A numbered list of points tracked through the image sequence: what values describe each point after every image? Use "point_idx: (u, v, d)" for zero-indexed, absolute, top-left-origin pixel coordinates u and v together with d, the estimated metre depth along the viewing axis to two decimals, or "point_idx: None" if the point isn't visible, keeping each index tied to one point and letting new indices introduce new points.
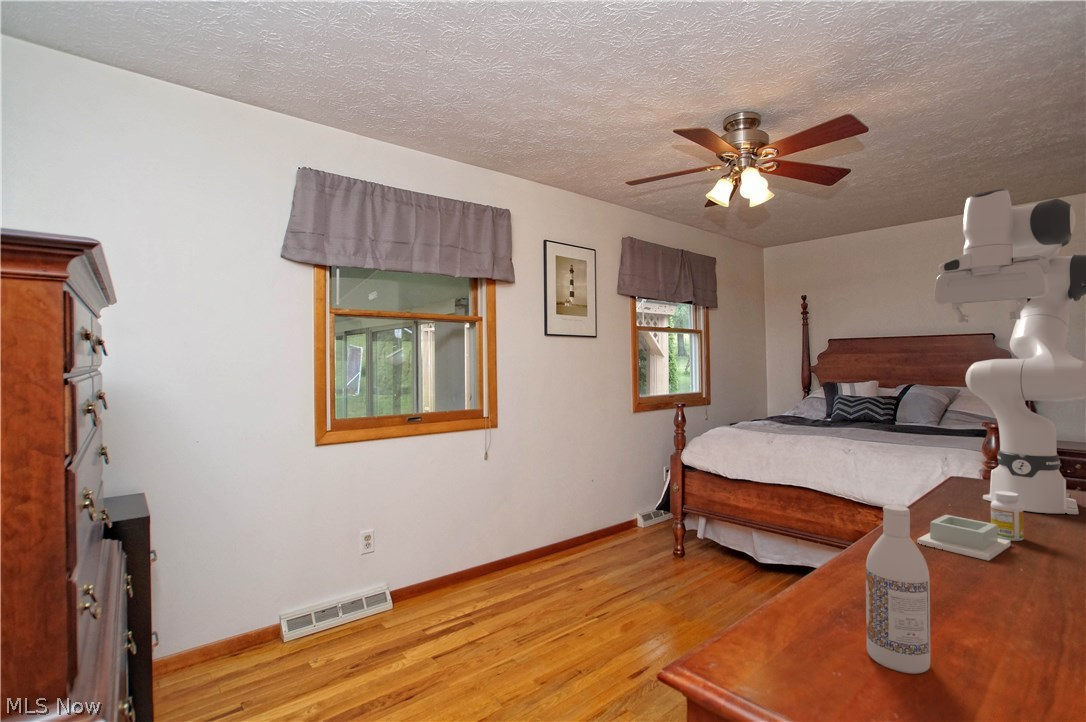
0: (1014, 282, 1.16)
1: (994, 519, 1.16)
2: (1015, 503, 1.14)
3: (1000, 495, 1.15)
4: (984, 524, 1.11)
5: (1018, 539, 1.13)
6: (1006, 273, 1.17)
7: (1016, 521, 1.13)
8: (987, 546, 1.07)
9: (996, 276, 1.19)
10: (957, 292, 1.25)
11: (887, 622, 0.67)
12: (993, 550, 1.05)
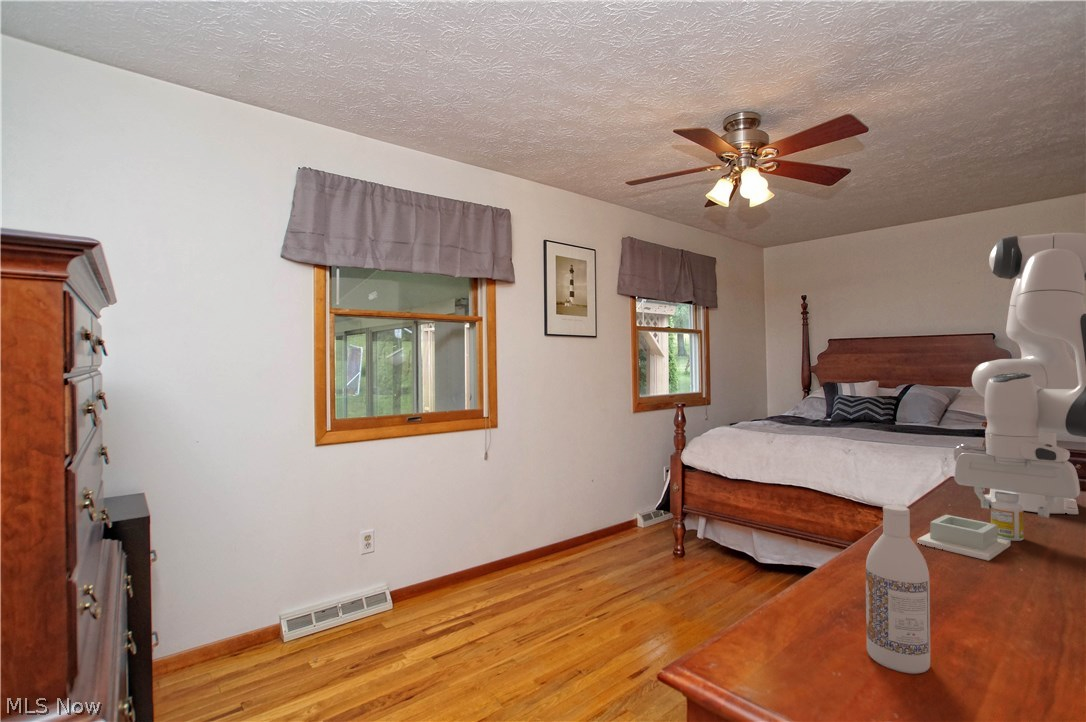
0: None
1: (994, 519, 1.16)
2: (1015, 503, 1.14)
3: (1000, 495, 1.15)
4: (984, 524, 1.11)
5: (1018, 539, 1.13)
6: None
7: (1016, 521, 1.13)
8: (987, 546, 1.07)
9: None
10: None
11: (887, 622, 0.67)
12: (993, 550, 1.05)
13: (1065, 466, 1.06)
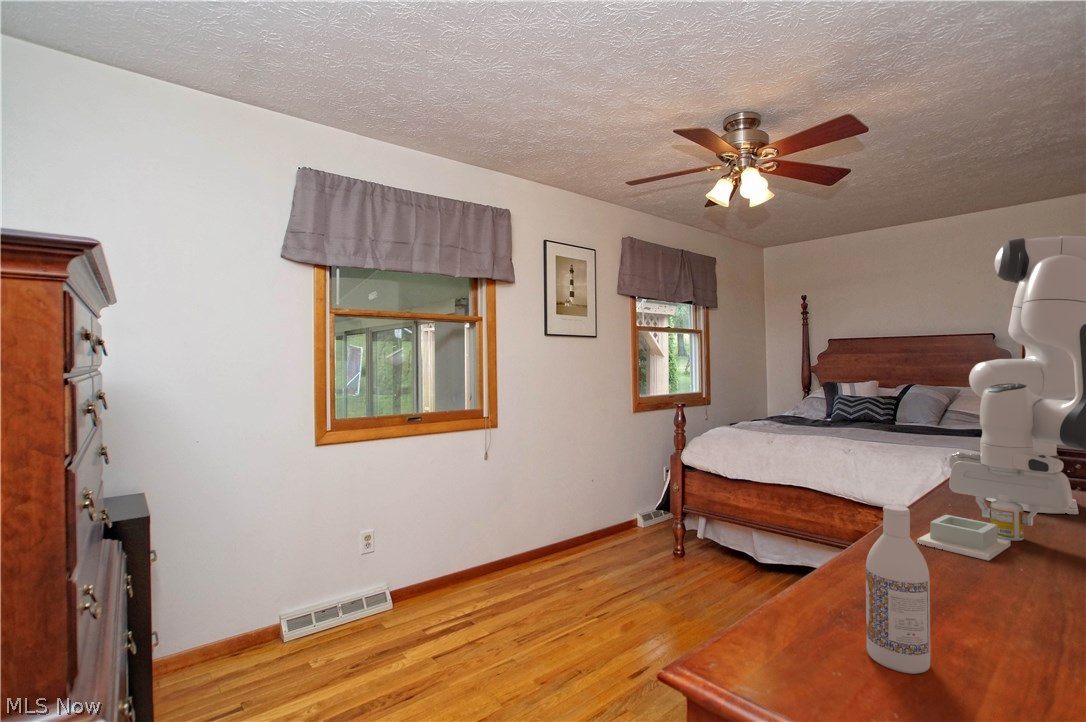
0: None
1: (994, 519, 1.16)
2: (1015, 503, 1.14)
3: (1000, 495, 1.15)
4: (984, 524, 1.11)
5: (1018, 539, 1.13)
6: None
7: (1016, 521, 1.13)
8: (987, 546, 1.07)
9: None
10: None
11: (887, 622, 0.67)
12: (993, 550, 1.05)
13: (1057, 477, 1.07)
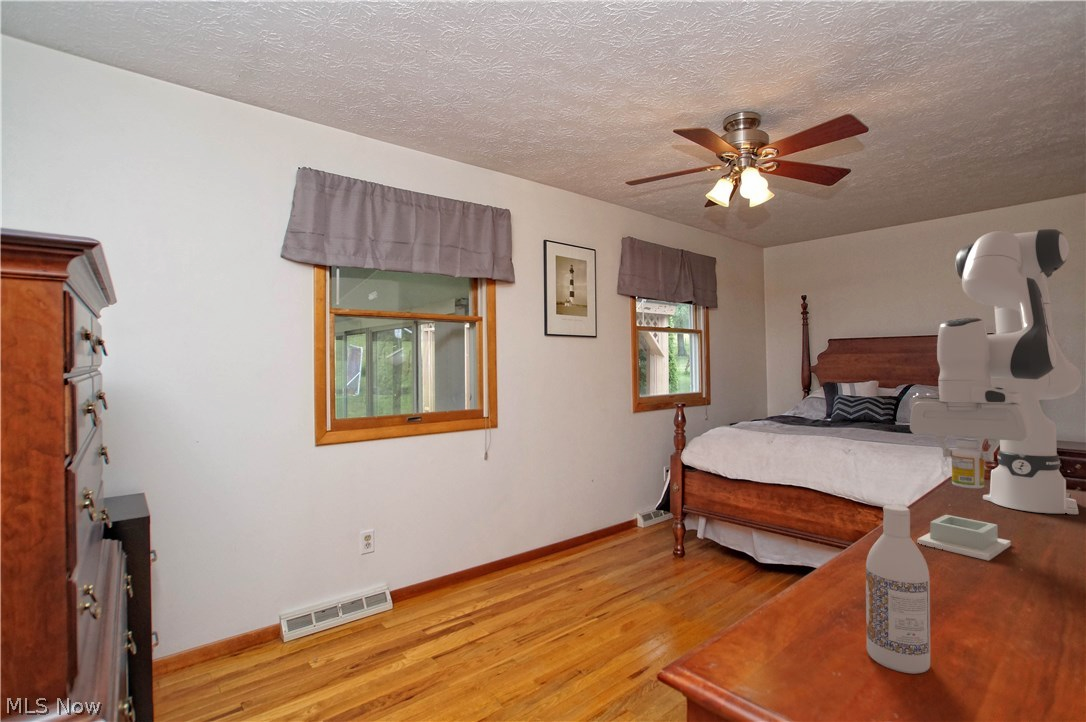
0: None
1: (954, 467, 1.12)
2: (976, 449, 1.10)
3: (961, 442, 1.11)
4: (984, 524, 1.11)
5: (978, 486, 1.09)
6: None
7: (977, 467, 1.09)
8: (987, 546, 1.07)
9: None
10: None
11: (887, 622, 0.67)
12: (993, 550, 1.05)
13: (1014, 407, 1.04)
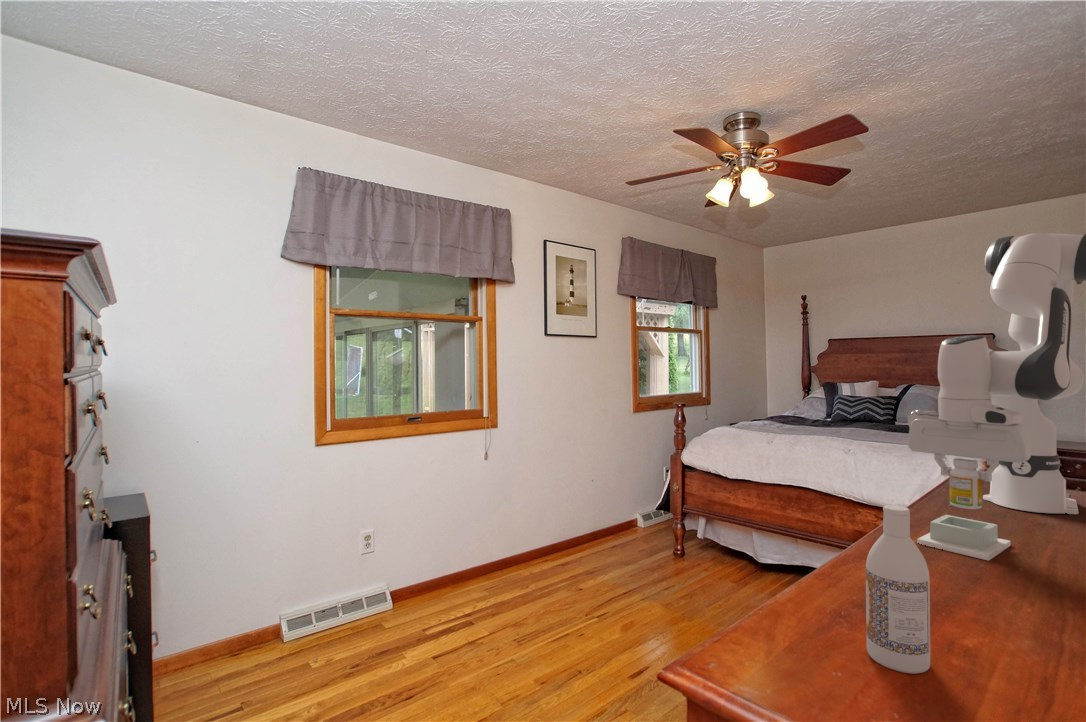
0: None
1: (952, 487, 1.11)
2: (974, 470, 1.09)
3: (959, 462, 1.10)
4: (984, 524, 1.11)
5: (976, 507, 1.08)
6: None
7: (975, 488, 1.08)
8: (987, 546, 1.07)
9: None
10: None
11: (887, 622, 0.67)
12: (993, 550, 1.05)
13: (1015, 429, 1.03)
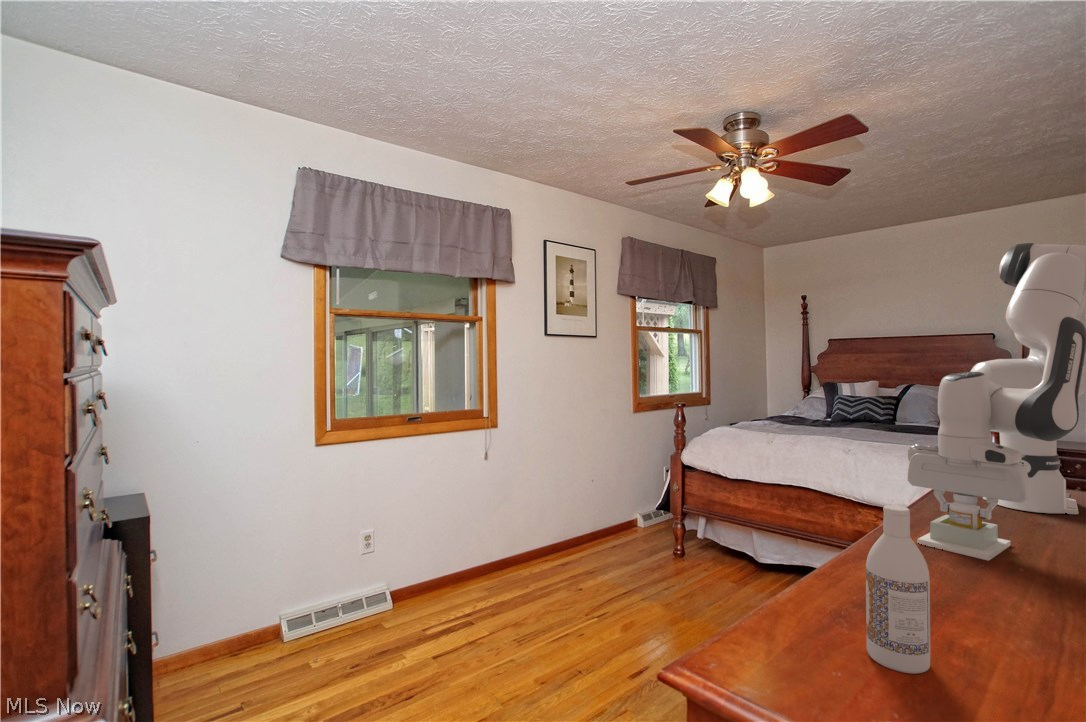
0: None
1: (952, 522, 1.11)
2: (973, 505, 1.09)
3: (958, 496, 1.10)
4: (984, 524, 1.11)
5: None
6: None
7: (975, 523, 1.08)
8: (987, 546, 1.07)
9: None
10: None
11: (887, 622, 0.67)
12: (993, 550, 1.05)
13: (1014, 468, 1.03)
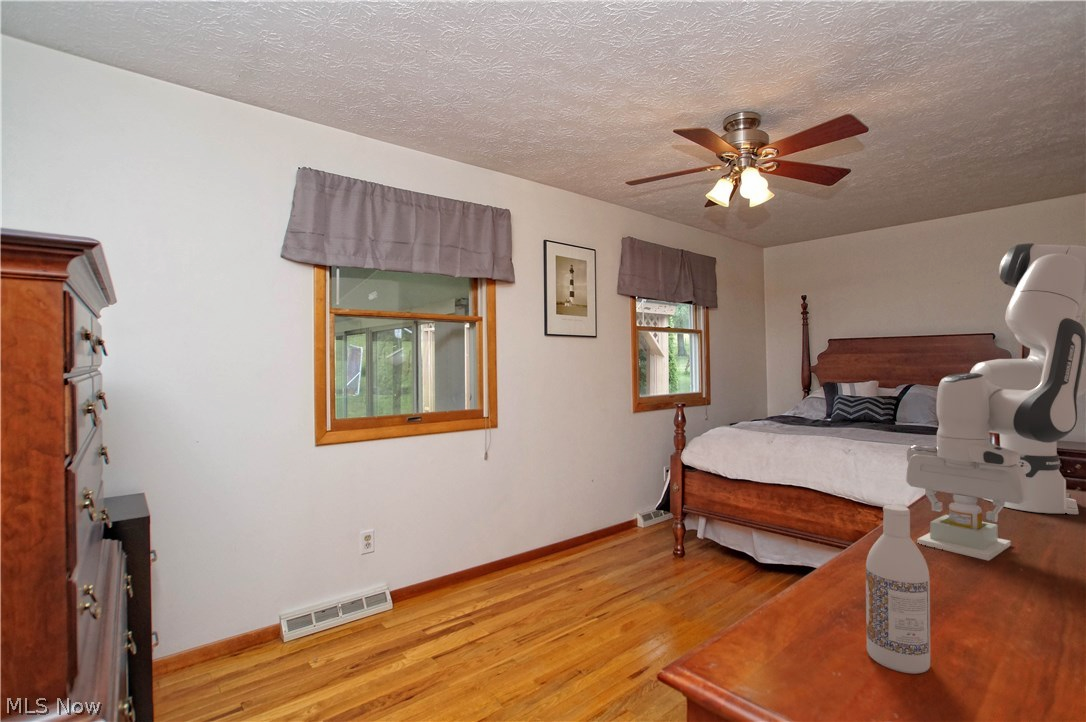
0: None
1: (952, 521, 1.11)
2: (973, 505, 1.09)
3: (958, 496, 1.10)
4: (984, 524, 1.11)
5: None
6: None
7: (974, 523, 1.08)
8: (987, 546, 1.07)
9: None
10: None
11: (887, 622, 0.67)
12: (993, 550, 1.05)
13: (1012, 470, 1.03)
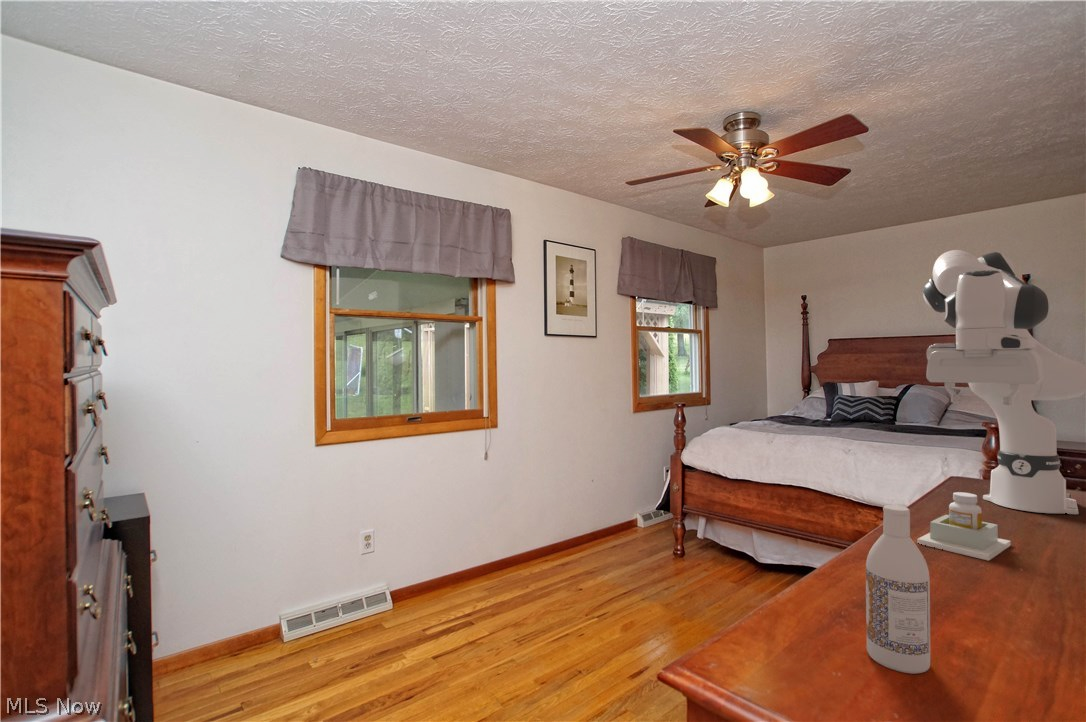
0: None
1: (952, 521, 1.11)
2: (973, 505, 1.09)
3: (958, 496, 1.10)
4: (984, 524, 1.11)
5: None
6: None
7: (974, 523, 1.08)
8: (987, 546, 1.07)
9: None
10: None
11: (887, 622, 0.67)
12: (993, 550, 1.05)
13: (1028, 352, 1.10)
